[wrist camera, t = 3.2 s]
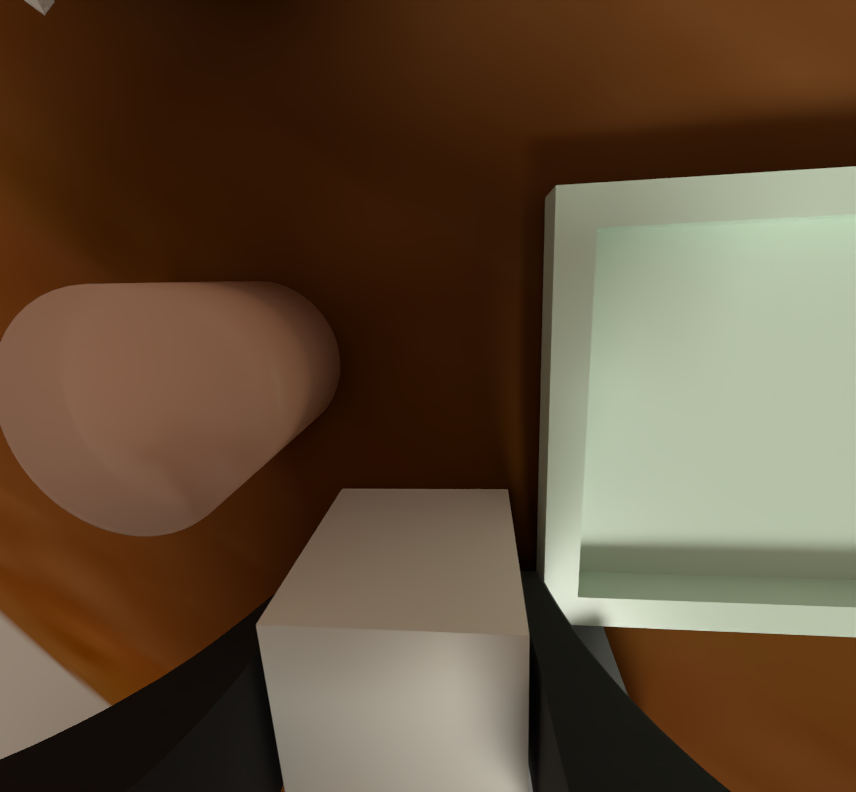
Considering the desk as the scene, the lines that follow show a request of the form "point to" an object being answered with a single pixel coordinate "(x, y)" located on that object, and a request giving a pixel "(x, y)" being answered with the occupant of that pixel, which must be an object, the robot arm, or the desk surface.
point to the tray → (701, 403)
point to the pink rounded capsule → (160, 394)
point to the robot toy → (41, 5)
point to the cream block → (402, 647)
